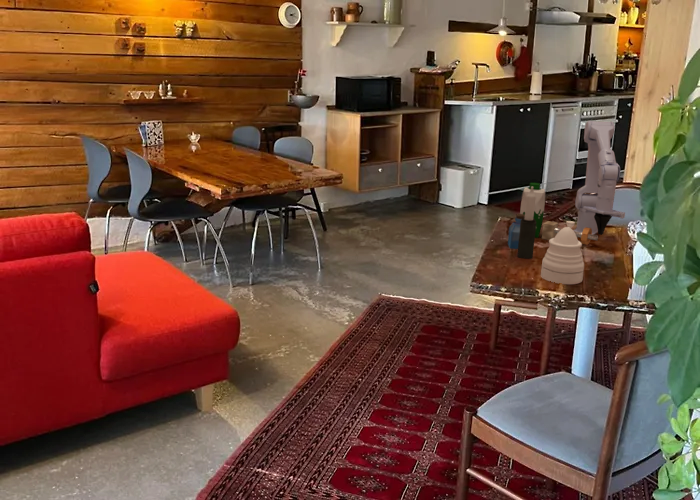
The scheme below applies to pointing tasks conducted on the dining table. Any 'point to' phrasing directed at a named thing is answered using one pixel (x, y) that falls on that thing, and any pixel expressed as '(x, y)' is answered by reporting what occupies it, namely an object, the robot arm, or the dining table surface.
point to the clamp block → (549, 230)
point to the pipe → (580, 234)
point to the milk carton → (538, 205)
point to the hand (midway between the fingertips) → (600, 234)
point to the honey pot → (563, 258)
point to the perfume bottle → (515, 232)
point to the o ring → (586, 235)
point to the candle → (527, 229)
